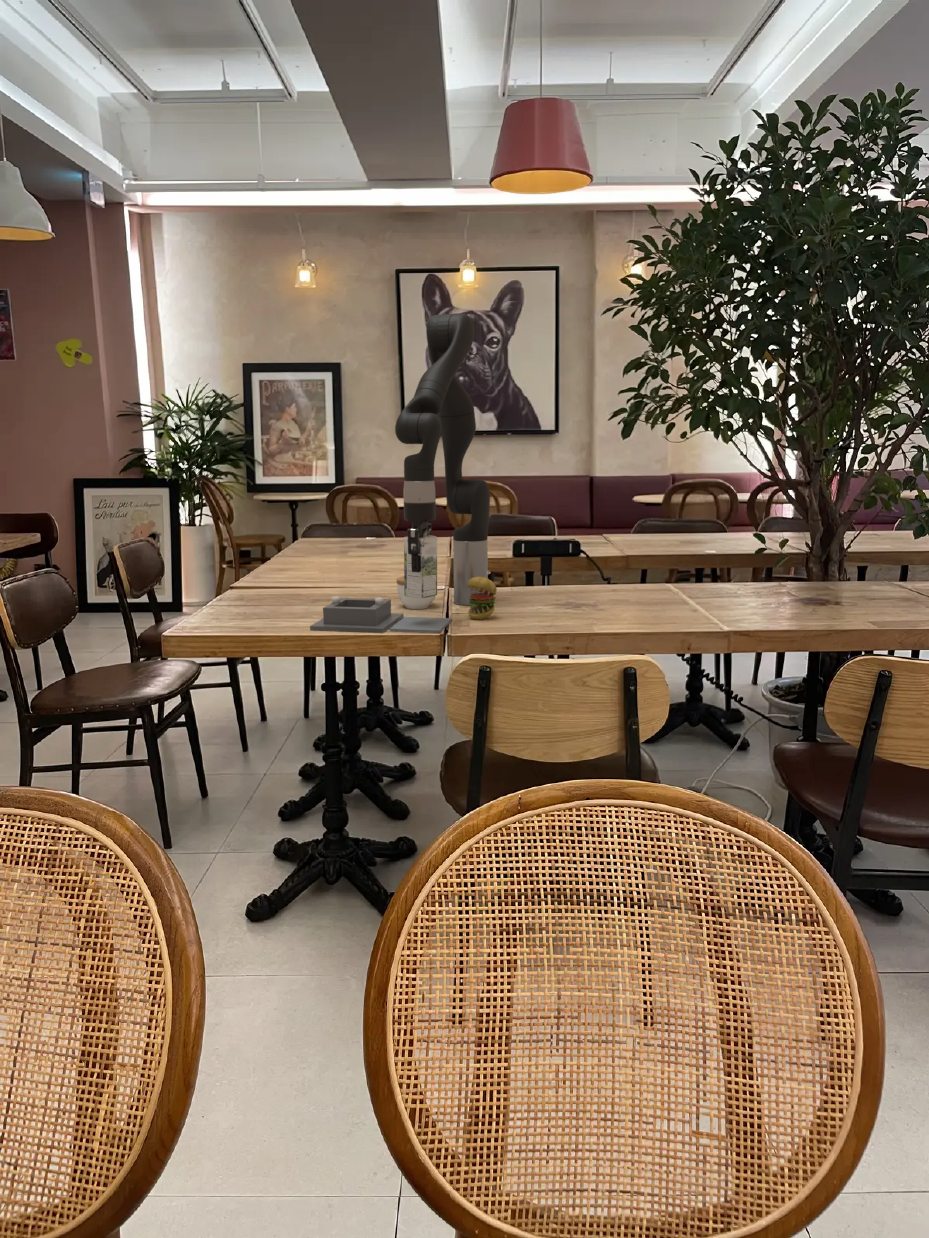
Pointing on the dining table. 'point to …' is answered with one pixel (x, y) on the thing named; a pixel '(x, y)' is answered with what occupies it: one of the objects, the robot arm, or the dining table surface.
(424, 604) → the lidded jar
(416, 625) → the mat
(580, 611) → the dining table surface
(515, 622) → the dining table surface
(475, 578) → the hamburger
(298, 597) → the dining table surface
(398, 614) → the holder
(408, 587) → the syrup box
